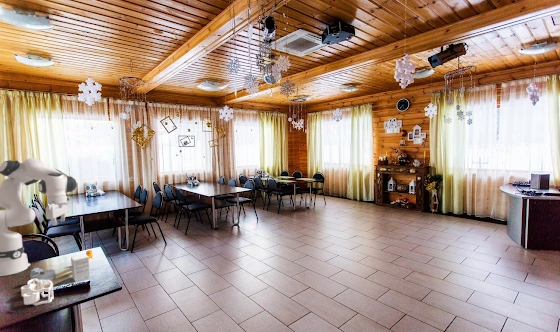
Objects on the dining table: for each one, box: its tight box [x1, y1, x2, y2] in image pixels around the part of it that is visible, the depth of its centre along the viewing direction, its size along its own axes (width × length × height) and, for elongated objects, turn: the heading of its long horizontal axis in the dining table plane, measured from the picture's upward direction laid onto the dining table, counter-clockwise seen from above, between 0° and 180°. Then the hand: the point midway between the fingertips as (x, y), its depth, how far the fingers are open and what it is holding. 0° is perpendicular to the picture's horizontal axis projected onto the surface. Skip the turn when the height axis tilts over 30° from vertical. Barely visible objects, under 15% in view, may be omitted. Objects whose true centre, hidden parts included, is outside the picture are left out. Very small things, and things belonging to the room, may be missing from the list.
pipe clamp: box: [85, 249, 94, 259], centre depth 183 cm, size 12×4×6 cm, turn 1°
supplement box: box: [70, 253, 91, 283], centre depth 160 cm, size 7×7×13 cm
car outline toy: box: [20, 278, 55, 306], centre depth 139 cm, size 20×11×7 cm, turn 48°
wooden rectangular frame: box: [29, 267, 73, 290], centre depth 158 cm, size 7×24×8 cm, turn 162°
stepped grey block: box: [29, 267, 44, 283], centre depth 155 cm, size 4×4×8 cm
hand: (58, 223), depth 165 cm, fingers open, 8 cm apart
